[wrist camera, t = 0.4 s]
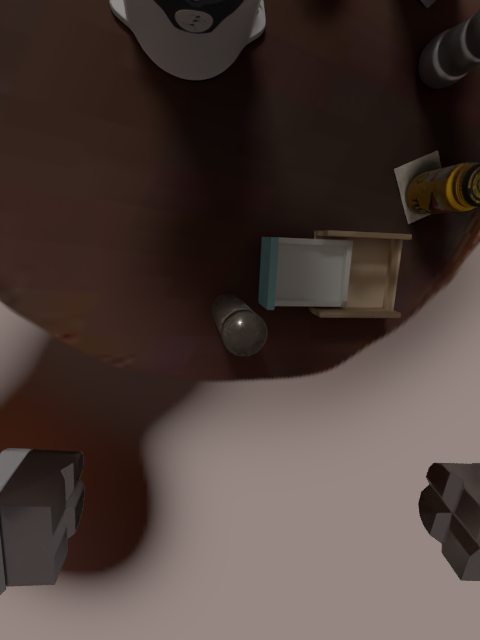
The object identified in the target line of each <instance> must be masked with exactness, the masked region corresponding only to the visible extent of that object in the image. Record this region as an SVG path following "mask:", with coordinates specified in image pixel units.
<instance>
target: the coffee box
mask: <svg viewBox="0 0 480 640" xmlns="http://www.w3.org/2000/svg"><path fill="white" fill-rule="evenodd" d="M420 1H421V2H422V3H423V4H424V6H425V7H426V8H428V7H429V6H431V5H432V4H433V3H434V2H435V1H436V0H420Z"/></svg>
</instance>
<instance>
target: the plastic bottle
mask: <svg viewBox="0 0 480 640" xmlns="http://www.w3.org/2000/svg"><path fill="white" fill-rule="evenodd" d="M479 64H480V9H479V10H478V11H477V12H476V13H475V14H473V15H472V16H471V17H470V18H468V19H466V20H465V21H463V22H461V23H460V24H458V25H457V26H455V27H453V28H450V29H448V30H446V31H444V32H442V33H440V34H438V35H437V36H435V37H434V38H433V39H432V40H431V41H430V42H429V44H428V45H427V46H426V47H425V48H424V50H423V51H422V53H421V56H420V59H419V66H418V71H419V76H420V78H421V80H422V81H423V83H425V84H426V85H427V86H429V87H431V88H434V89H440V88H444V87H447V86H450V85H453V84H454V83H456V82H457V81H458V80H460V79H461V78H462V77H464V76H465V75H466V74H467V73H468V72H469V71H471V70H472V69H474V68H475V67H477V66H478V65H479Z"/></svg>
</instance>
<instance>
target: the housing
mask: <svg viewBox="0 0 480 640" xmlns="http://www.w3.org/2000/svg"><path fill="white" fill-rule="evenodd" d="M314 239H326V240H349V241H353V247H352V256H351V266H350V275H349V284H348V294H347V303H346V307H322V306H308V311H310V312H311V313H313V314H315V315H317V316H318V317H320V318H400V317H401V313H399V312H396V311H393V309H394V302H395V294H396V287H397V279H398V272H399V265H400V257H401V250H402V242H403V239H410V240H411V239H412V234H393V233H372V232H352V231H331V230H324V231H315V232H314Z"/></svg>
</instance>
